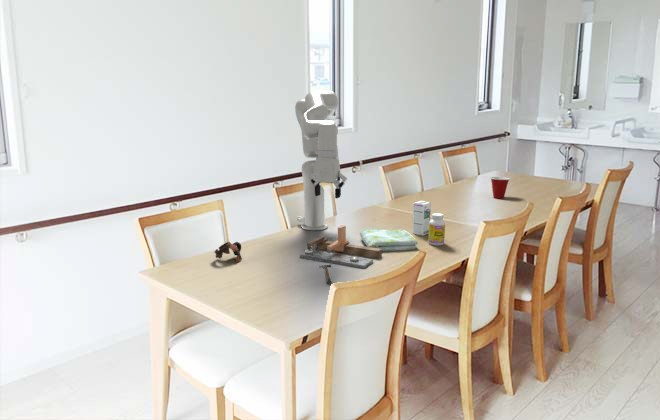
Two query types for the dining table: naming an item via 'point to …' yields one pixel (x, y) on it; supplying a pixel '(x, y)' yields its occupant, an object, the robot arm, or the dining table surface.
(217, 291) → the dining table surface
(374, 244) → the towel
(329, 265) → the tactical tomahawk
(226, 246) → the brown arched piece
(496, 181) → the plastic cup
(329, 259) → the steel strip
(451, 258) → the dining table surface
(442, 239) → the supplement bottle
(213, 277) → the dining table surface
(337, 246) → the sliding leg
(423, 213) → the syrup box
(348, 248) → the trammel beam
